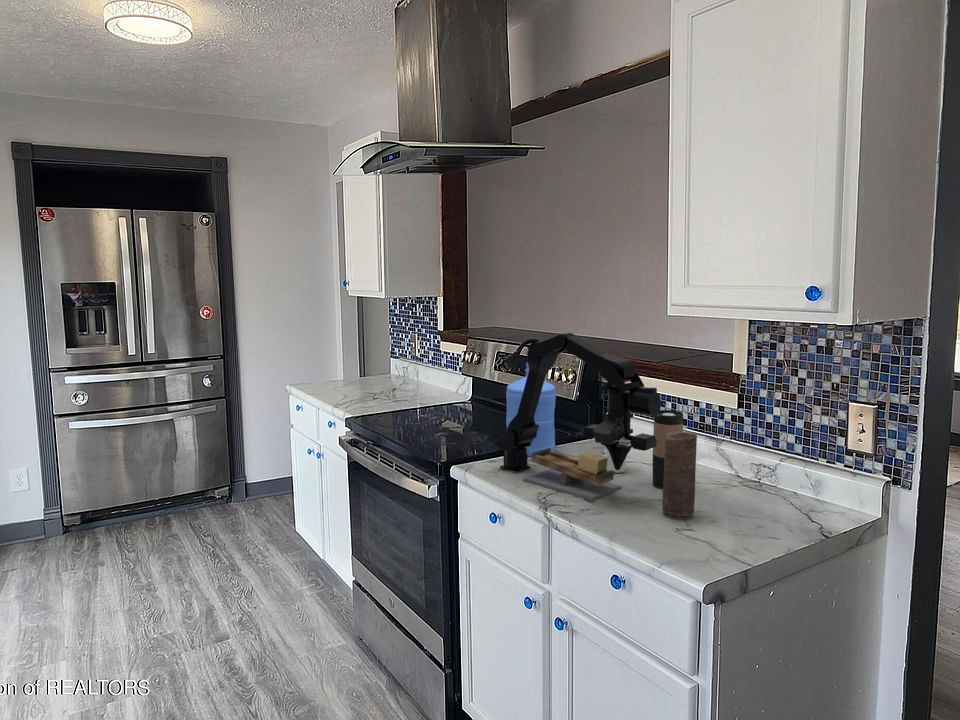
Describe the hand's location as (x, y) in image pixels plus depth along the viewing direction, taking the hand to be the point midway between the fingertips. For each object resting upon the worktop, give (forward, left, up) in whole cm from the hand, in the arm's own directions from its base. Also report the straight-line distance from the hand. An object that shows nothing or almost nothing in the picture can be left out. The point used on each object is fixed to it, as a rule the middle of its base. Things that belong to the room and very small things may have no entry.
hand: (617, 469), depth 178 cm
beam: (-14, 0, -3) cm, 15 cm away
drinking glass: (-12, +19, -8) cm, 24 cm away
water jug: (-44, +19, -8) cm, 49 cm away
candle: (+18, -1, -8) cm, 19 cm away
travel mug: (+5, +17, -8) cm, 19 cm away
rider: (-8, 0, -3) cm, 9 cm away
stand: (-14, 0, -7) cm, 16 cm away
